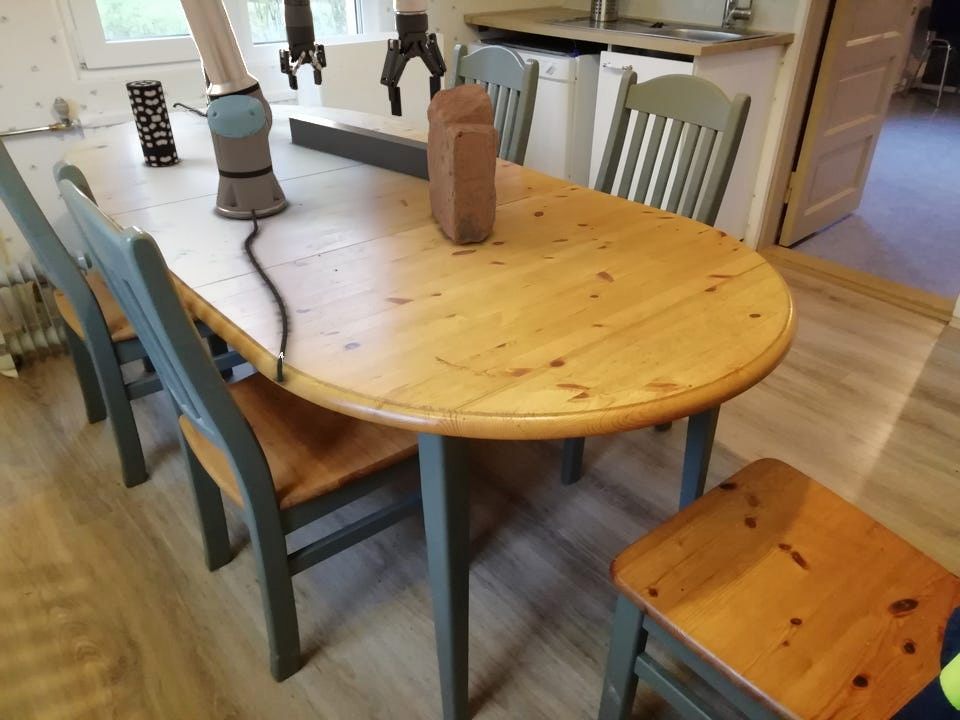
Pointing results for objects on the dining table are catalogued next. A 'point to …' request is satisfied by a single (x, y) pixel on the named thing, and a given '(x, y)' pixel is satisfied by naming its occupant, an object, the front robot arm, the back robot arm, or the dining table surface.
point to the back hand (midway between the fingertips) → (306, 87)
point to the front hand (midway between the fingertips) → (416, 110)
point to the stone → (462, 162)
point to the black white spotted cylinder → (152, 122)
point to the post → (361, 144)
